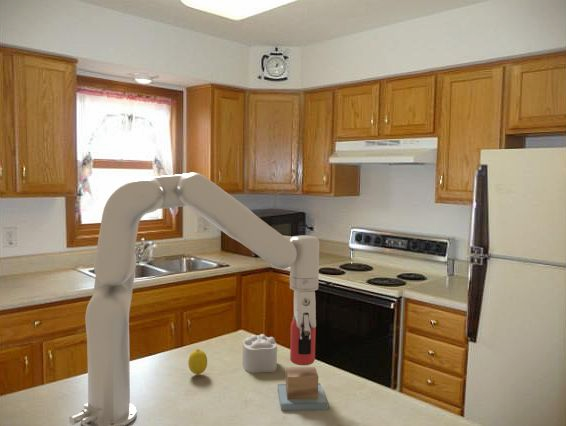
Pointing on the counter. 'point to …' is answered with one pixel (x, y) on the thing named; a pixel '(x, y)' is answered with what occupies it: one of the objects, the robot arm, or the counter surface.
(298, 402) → the plate
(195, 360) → the lemon
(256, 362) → the lumpy-topped squat cylinder
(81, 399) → the counter surface
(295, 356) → the beer can
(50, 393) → the counter surface
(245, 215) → the robot arm
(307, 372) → the wooden block
